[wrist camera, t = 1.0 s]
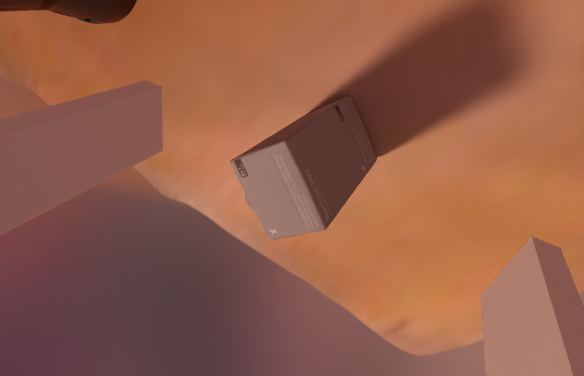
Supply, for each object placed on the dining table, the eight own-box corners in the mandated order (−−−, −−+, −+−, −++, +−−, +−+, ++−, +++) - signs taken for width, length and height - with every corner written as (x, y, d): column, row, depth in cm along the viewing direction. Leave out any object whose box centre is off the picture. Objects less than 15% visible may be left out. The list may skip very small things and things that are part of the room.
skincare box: (378, 158, 39) (338, 234, 26) (326, 174, 43) (268, 247, 30) (350, 89, 37) (291, 137, 24) (297, 113, 40) (222, 165, 28)
